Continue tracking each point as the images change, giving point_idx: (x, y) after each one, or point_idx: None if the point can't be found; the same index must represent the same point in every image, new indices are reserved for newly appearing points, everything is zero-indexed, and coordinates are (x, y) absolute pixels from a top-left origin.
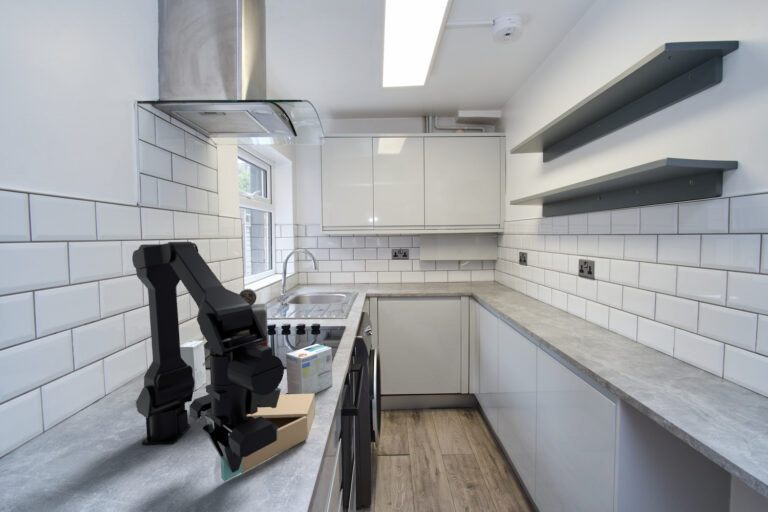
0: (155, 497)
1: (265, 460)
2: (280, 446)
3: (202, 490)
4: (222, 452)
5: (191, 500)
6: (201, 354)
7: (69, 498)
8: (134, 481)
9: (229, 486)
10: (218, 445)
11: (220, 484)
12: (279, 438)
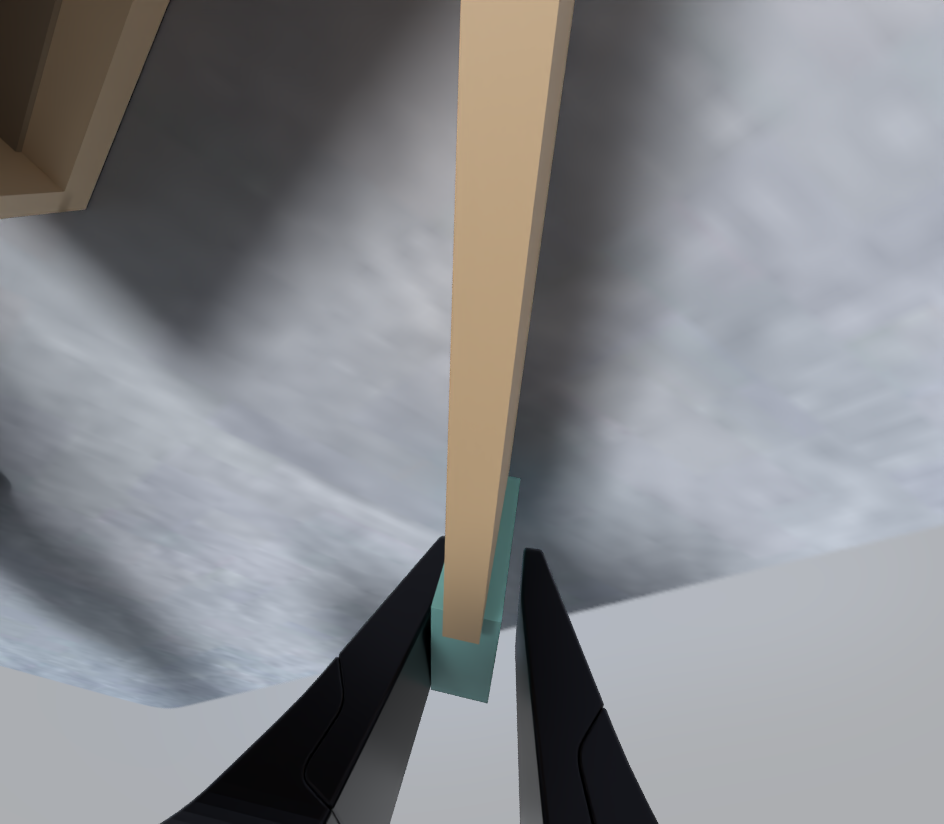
0: None
1: (534, 289)
2: (563, 65)
3: None
4: (420, 714)
5: None
6: None
7: (207, 684)
8: (218, 622)
9: (534, 527)
10: (385, 814)
11: None
12: (560, 52)
